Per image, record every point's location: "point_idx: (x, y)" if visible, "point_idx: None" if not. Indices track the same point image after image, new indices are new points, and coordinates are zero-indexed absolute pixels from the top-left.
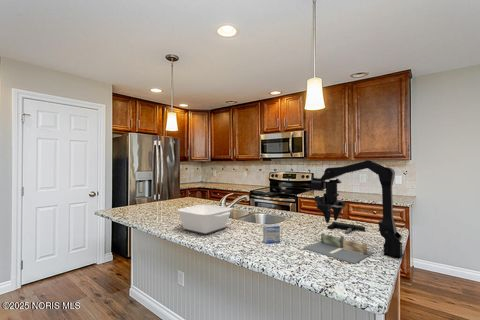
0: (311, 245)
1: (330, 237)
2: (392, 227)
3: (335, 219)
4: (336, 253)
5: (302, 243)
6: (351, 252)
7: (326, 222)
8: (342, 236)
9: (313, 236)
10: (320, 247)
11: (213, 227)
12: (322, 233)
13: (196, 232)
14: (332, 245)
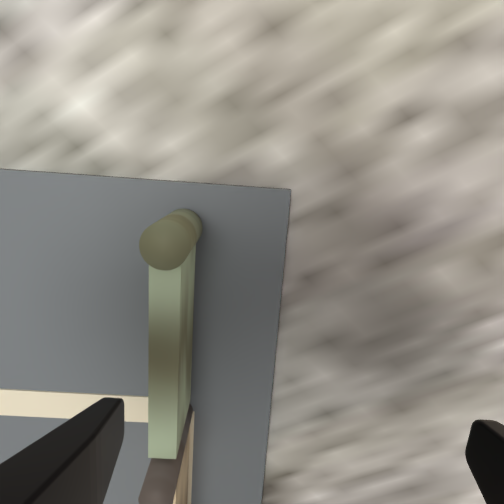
0: (13, 184)
1: (152, 350)
2: None
3: (485, 464)
4: (16, 431)
5: (18, 58)
6: (132, 493)
7: (103, 404)
8: (164, 499)
9: (360, 7)
10: (36, 277)
11: None
12: (177, 234)
13: None
14: None
